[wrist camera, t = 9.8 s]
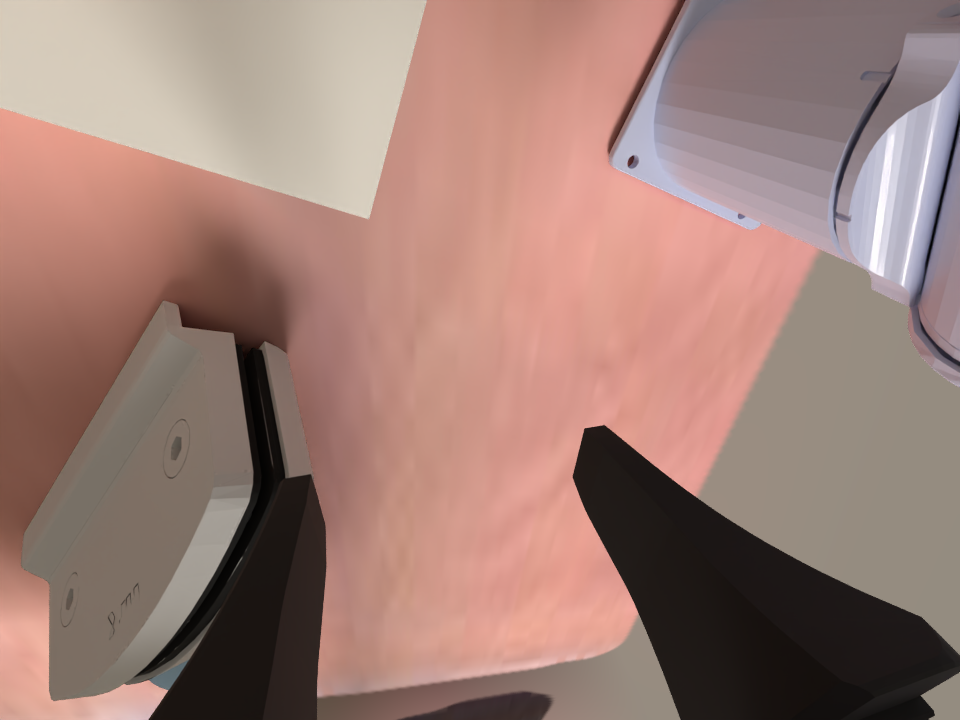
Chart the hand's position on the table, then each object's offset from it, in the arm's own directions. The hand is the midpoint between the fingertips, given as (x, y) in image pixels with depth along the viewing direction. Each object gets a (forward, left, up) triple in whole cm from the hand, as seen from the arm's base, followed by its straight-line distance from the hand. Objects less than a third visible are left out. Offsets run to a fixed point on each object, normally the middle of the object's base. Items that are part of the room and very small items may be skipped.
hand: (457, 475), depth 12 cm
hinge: (+8, +11, -11) cm, 18 cm away
